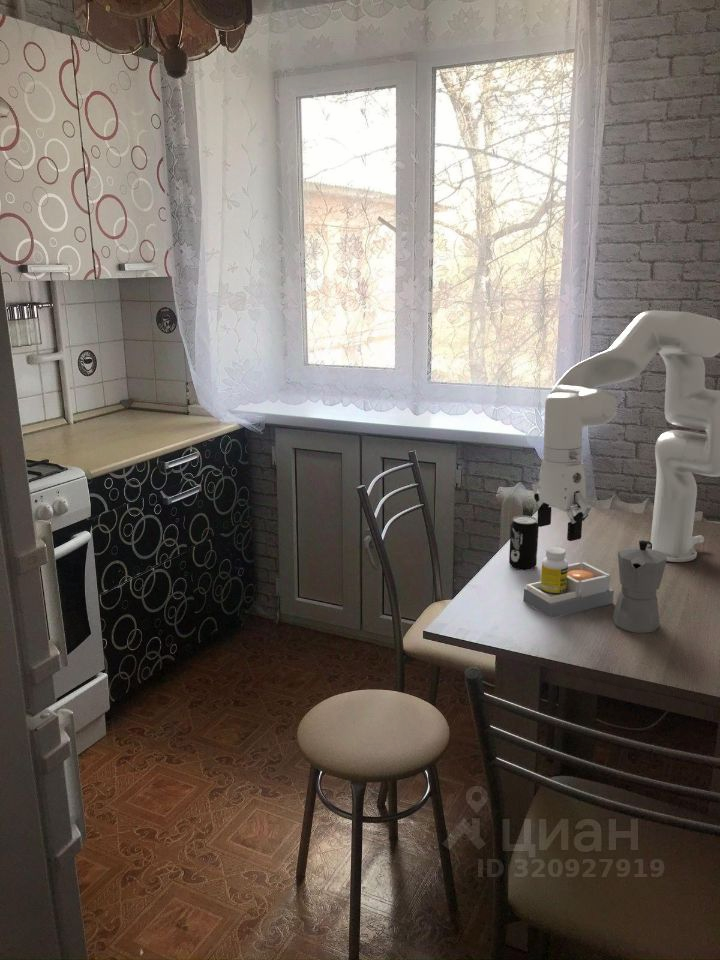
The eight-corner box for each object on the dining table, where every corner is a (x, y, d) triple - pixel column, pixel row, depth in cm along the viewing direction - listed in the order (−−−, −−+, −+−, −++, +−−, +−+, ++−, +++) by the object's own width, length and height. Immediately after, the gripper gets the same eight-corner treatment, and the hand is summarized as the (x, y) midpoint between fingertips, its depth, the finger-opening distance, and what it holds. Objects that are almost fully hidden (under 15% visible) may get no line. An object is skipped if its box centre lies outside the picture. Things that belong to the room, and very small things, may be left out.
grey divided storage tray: (582, 587, 178) (584, 560, 176) (612, 603, 169) (615, 575, 167) (523, 600, 171) (524, 573, 169) (551, 618, 162) (553, 589, 161)
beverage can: (536, 571, 187) (539, 524, 183) (508, 570, 188) (510, 522, 185) (536, 561, 193) (538, 515, 190) (509, 560, 194) (511, 514, 191)
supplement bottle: (562, 600, 164) (565, 556, 161) (537, 595, 166) (539, 552, 164) (568, 590, 169) (571, 548, 166) (543, 586, 171) (546, 544, 168)
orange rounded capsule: (580, 589, 175) (581, 568, 173) (597, 599, 170) (599, 577, 168) (560, 594, 172) (561, 572, 171) (577, 604, 167) (579, 581, 166)
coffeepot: (654, 641, 152) (663, 555, 147) (605, 631, 156) (612, 547, 151) (666, 611, 165) (674, 531, 160) (620, 602, 169) (627, 524, 164)
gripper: (606, 460, 153) (601, 542, 158) (549, 442, 168) (546, 517, 173) (576, 466, 150) (571, 549, 155) (521, 447, 165) (519, 523, 170)
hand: (558, 532), depth 164 cm, fingers open, 9 cm apart
